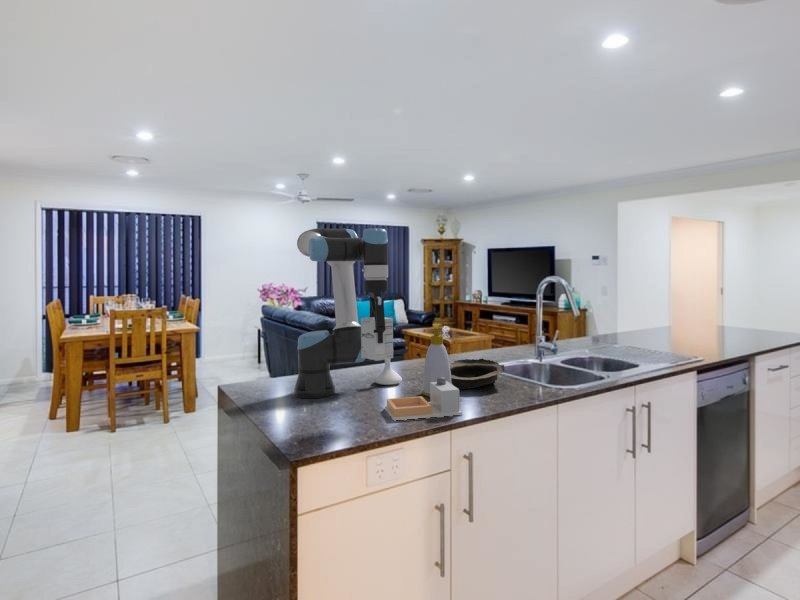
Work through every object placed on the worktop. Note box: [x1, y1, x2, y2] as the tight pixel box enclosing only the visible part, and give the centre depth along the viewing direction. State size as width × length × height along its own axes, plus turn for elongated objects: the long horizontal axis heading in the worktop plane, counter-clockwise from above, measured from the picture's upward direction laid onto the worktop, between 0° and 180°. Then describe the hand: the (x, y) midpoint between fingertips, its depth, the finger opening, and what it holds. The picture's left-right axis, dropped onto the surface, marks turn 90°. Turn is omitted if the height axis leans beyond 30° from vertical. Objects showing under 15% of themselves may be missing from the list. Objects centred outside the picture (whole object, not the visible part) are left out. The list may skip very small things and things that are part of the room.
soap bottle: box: [422, 323, 453, 398], centre depth 175 cm, size 11×12×26 cm
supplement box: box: [360, 316, 394, 362], centre depth 147 cm, size 7×7×13 cm
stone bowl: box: [450, 357, 505, 390], centre depth 187 cm, size 25×25×9 cm
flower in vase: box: [373, 349, 403, 386], centre depth 192 cm, size 13×11×25 cm
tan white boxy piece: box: [384, 377, 463, 422], centre depth 153 cm, size 22×14×10 cm, turn 103°
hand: (377, 351), depth 147 cm, fingers closed on supplement box, 10 cm apart
